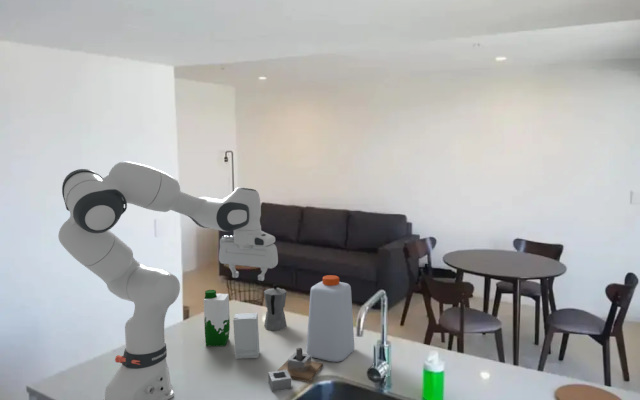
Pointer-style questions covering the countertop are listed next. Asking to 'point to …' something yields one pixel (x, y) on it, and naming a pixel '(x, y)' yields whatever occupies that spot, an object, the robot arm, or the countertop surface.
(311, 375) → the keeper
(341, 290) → the plastic bottle
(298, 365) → the grey hollow square block
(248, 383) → the countertop surface
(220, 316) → the milk carton
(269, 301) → the coffeepot
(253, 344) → the skincare box
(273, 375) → the link
